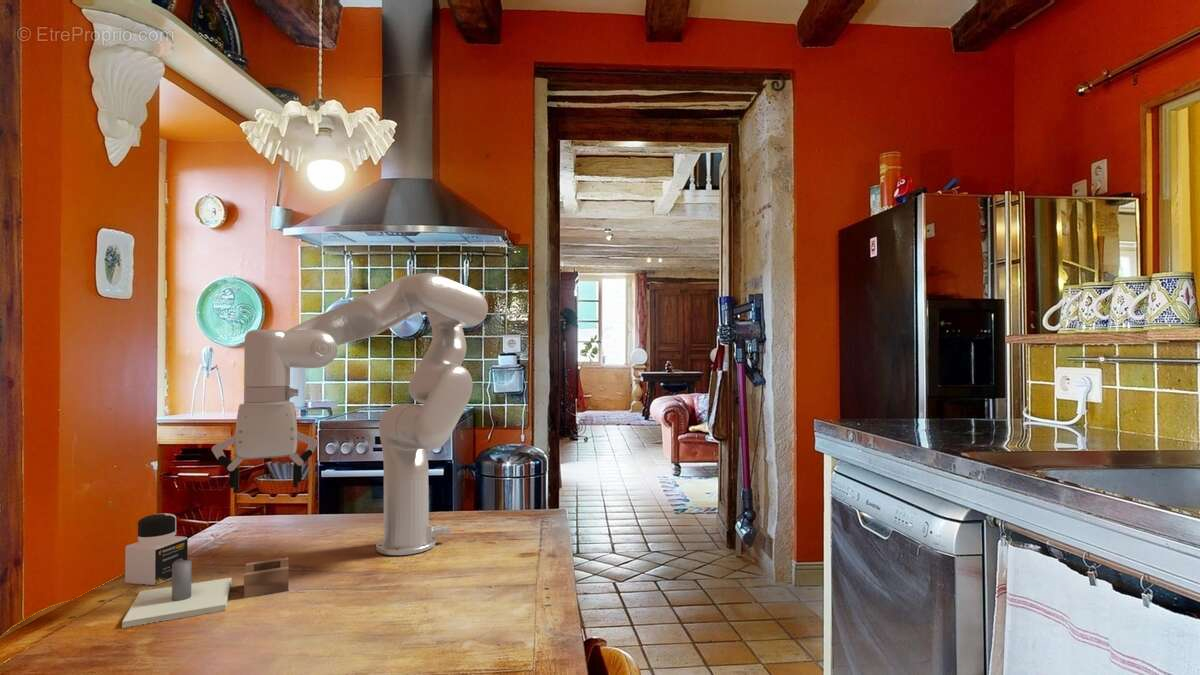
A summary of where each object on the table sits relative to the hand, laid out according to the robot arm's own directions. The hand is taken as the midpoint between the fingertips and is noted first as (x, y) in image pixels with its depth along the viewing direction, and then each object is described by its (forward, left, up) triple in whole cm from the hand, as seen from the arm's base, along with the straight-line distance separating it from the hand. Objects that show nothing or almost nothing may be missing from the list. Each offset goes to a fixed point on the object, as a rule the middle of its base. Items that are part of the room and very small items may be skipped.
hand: (266, 488), depth 114 cm
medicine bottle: (+19, -16, -18) cm, 31 cm away
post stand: (+13, +1, -18) cm, 22 cm away
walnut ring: (0, 0, -18) cm, 18 cm away
